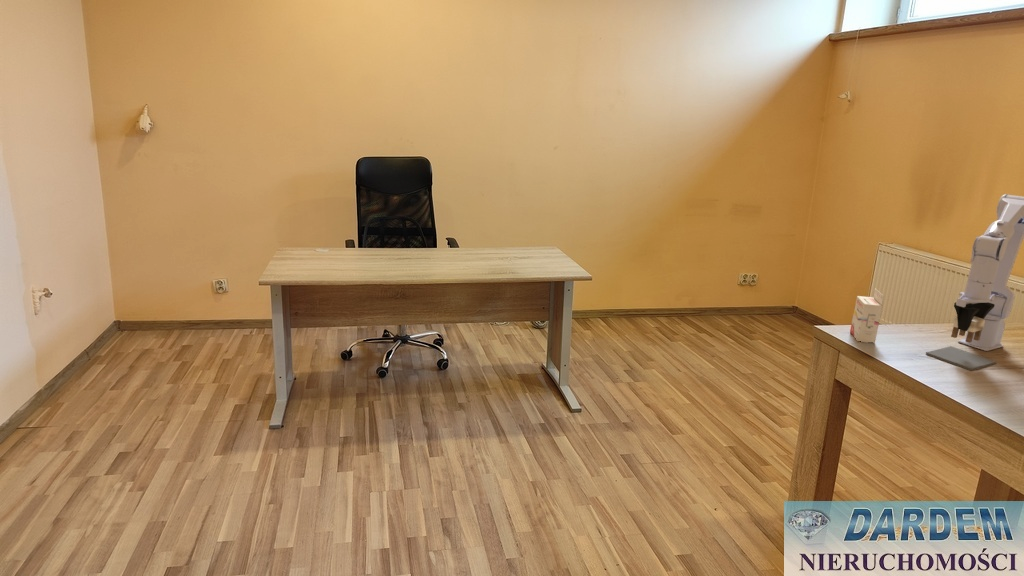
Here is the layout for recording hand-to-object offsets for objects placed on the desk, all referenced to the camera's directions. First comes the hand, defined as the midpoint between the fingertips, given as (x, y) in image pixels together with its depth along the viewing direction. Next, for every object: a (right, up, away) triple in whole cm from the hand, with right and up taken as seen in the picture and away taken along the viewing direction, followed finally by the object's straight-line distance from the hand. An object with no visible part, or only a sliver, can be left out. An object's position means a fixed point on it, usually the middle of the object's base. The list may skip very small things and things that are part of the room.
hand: (968, 328), depth 176 cm
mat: (0, -9, +3) cm, 9 cm away
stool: (0, -3, +1) cm, 3 cm away
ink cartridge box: (-20, -4, +16) cm, 26 cm away
